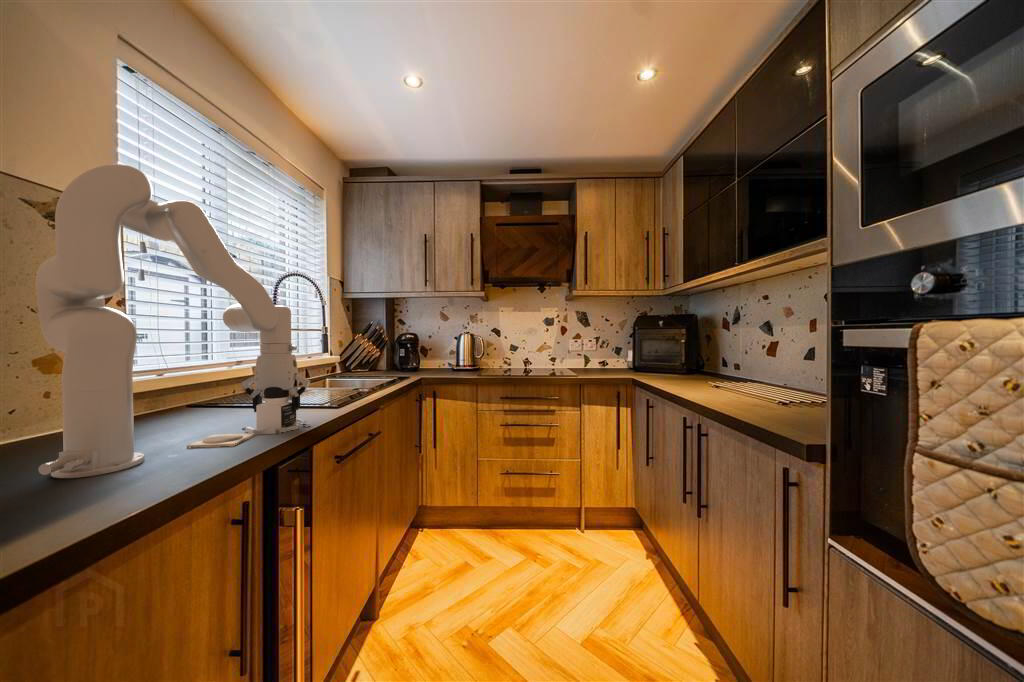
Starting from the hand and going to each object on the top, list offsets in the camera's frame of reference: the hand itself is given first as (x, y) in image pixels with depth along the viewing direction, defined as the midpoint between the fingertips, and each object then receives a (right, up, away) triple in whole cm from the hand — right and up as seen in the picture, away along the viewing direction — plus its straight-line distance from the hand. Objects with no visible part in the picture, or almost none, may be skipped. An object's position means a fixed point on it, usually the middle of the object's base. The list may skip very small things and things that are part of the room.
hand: (276, 410), depth 109 cm
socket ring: (0, -5, 0) cm, 5 cm away
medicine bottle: (0, -5, 0) cm, 5 cm away
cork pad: (-5, -5, -14) cm, 16 cm away
